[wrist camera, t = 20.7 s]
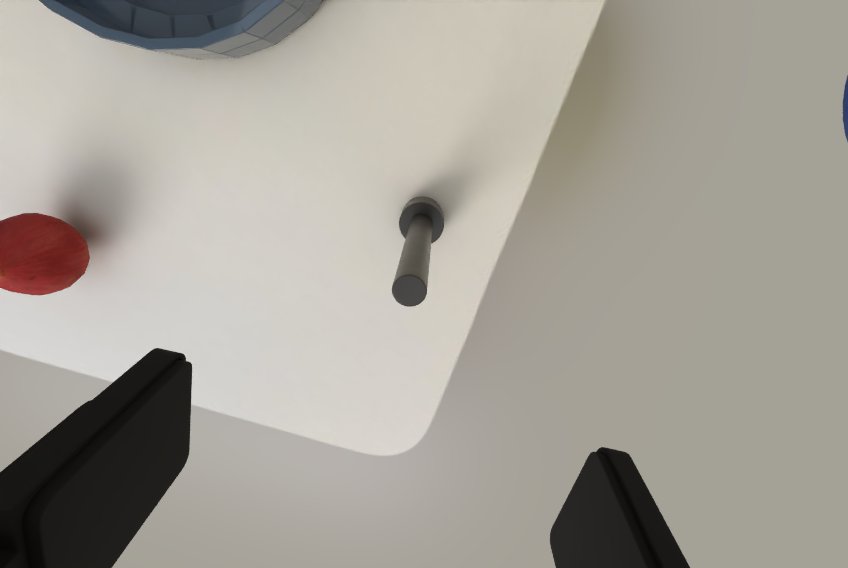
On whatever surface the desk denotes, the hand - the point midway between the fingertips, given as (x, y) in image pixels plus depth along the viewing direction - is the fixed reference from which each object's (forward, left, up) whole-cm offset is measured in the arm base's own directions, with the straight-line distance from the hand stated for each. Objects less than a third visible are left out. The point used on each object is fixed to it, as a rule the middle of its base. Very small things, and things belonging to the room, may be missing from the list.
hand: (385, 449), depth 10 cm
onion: (+26, +9, -24) cm, 37 cm away
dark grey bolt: (0, 0, -24) cm, 24 cm away
